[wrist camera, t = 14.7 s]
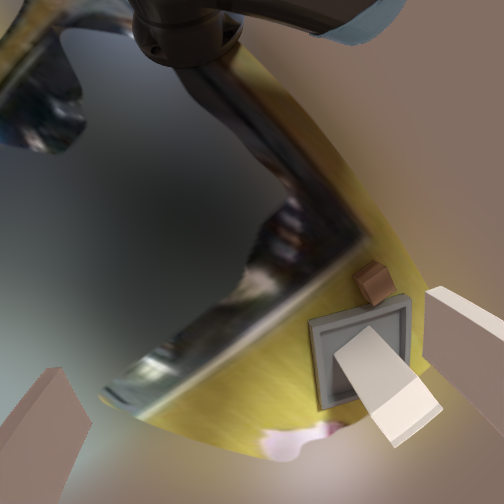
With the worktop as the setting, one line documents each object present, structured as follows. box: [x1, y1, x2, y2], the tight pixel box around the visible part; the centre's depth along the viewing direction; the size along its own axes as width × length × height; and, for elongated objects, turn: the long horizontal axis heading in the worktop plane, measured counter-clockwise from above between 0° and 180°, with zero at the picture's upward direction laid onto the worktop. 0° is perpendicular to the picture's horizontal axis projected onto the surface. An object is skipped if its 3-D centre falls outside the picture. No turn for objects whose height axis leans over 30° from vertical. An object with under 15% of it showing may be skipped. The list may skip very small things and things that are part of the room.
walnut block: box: [352, 260, 396, 306], centre depth 42 cm, size 4×4×4 cm
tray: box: [308, 293, 412, 410], centre depth 45 cm, size 16×16×2 cm
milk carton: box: [334, 325, 443, 448], centre depth 36 cm, size 7×7×19 cm
